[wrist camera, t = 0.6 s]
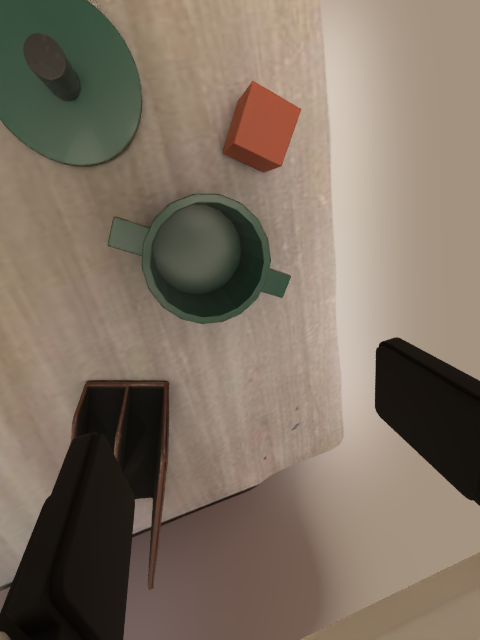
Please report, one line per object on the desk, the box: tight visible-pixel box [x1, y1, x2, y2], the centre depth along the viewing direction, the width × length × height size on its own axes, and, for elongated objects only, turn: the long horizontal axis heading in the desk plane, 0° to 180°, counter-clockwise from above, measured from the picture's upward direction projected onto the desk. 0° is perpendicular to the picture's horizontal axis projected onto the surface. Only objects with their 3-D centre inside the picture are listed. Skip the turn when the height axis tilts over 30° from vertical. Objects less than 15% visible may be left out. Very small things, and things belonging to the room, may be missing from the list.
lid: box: [0, 0, 142, 166], centre depth 23 cm, size 12×12×6 cm
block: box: [223, 81, 301, 172], centre depth 28 cm, size 5×5×5 cm
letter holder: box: [71, 381, 169, 590], centre depth 33 cm, size 10×20×14 cm, turn 170°
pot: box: [108, 194, 291, 324], centre depth 29 cm, size 11×17×8 cm
